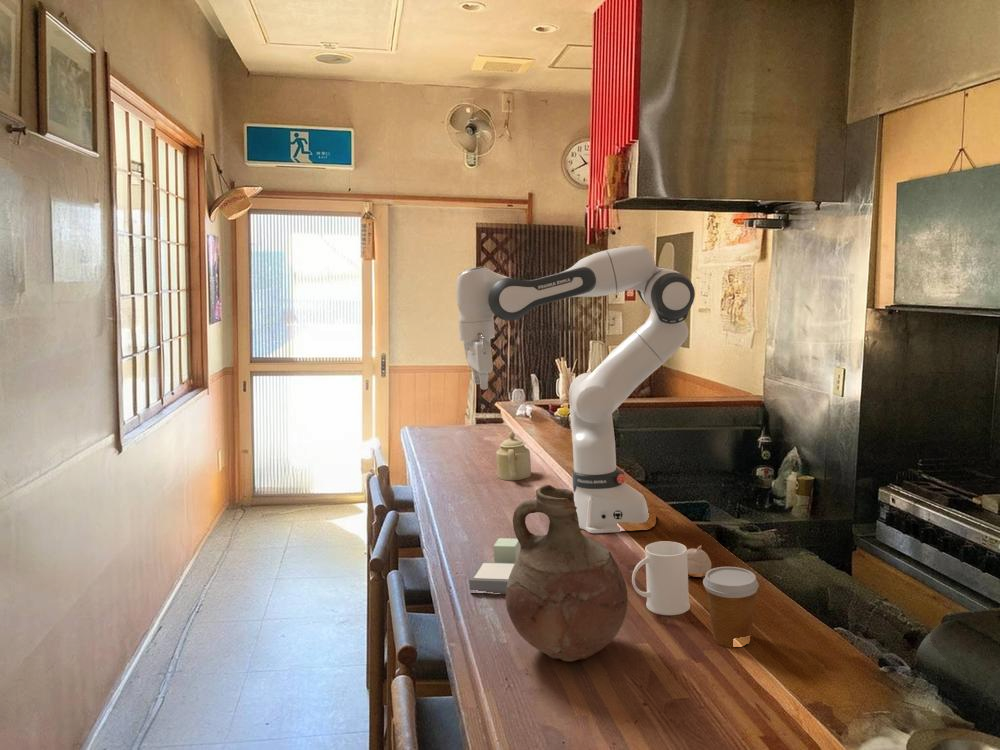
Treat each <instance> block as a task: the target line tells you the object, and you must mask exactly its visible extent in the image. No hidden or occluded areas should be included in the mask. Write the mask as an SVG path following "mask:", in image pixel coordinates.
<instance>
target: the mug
mask: <svg viewBox="0 0 1000 750" xmlns="http://www.w3.org/2000/svg"><path fill="white" fill-rule="evenodd" d="M687 550H688V547H687V546H686V545H684V544H682V543H680V542H678V541H677V542H676V541H669V540H668V541H666V540H663V541H662V540H659V541H655V542H651V543H649V544H647V545H645V548H644V551H645V553H644V555H645V556H644V557H645V558H643V559H641V560H640V561H639V562H638V563H637V564H636V566H635V567H634V570H633V571H632V575H631V584H632V586H633V589H634V590H635V592H636V593H637V594H638V595H639V596H642V597H644V598H646V603H645V606H646V608H647V609H648V611H650V612H651V613H654V614H657V615H661V616H677V615H681V614H685V613H686V612H688V611H690V609H691V603H690V598H689V596H690V595H689V576H688V565H687ZM644 565H645V575H646V576H645V578H646V581H645V582H646V591H642V590H640V589H639V588H638V587H637V585H636V575H637V572H638V571H639V569H640V568H641V567H642V566H644Z"/></svg>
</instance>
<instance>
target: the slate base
mask: <svg viewBox="0 0 1000 750" xmlns="http://www.w3.org/2000/svg"><path fill="white" fill-rule="evenodd" d="M514 564H515V563H495V562H494V561H493V562H485V561H484V562H483V561H482V562H480V563H479V564H478V565H477V568H476V569H475V571H474V572H473V573H472V575H471V576H470V578H469V580H468V583H469V591H470V590H478V591H486V592H493V593H500V594H506V588H507V582H508V579H509V576H510V573H511V571H512V568H513V566H514Z"/></svg>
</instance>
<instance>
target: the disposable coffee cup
mask: <svg viewBox="0 0 1000 750" xmlns="http://www.w3.org/2000/svg"><path fill="white" fill-rule="evenodd" d="M702 584H703V587H704V588H705V592H706V597H707V603H708V604H707V605H708V610H709V616H710V622H711V629H712V634H713V640H714V642H715V643H716V644H718V645H720V646H722V647H725V648H730V649H731V648H732V649H734V648H733V639H734V638H740V637H746V636H749V635H750V634H751V635H752V631H753V629H752V628H753V621H754V611H755V604H756V597H757V595H756V594H757V592H758V589H759V587H760V583H759V581H758V580H757V577H756V575H755V573H754V572H752V571H751V570H748V569H746V568H742V567H738V566H737V567H736V566H720V567H714V568H711V570H709V571H707V573H706V575H705V577H703V580H702Z"/></svg>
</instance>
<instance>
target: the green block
mask: <svg viewBox="0 0 1000 750" xmlns="http://www.w3.org/2000/svg"><path fill="white" fill-rule="evenodd" d="M519 553H520V543H519V541H518V539H517V538H508V537H507V538H504V537H501V538H499V537H498V539H497V540H496V542H495V543H494V544H493V555H494V557H493V558H494V563H515V562H516V560H517V558H518V556H519Z"/></svg>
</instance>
